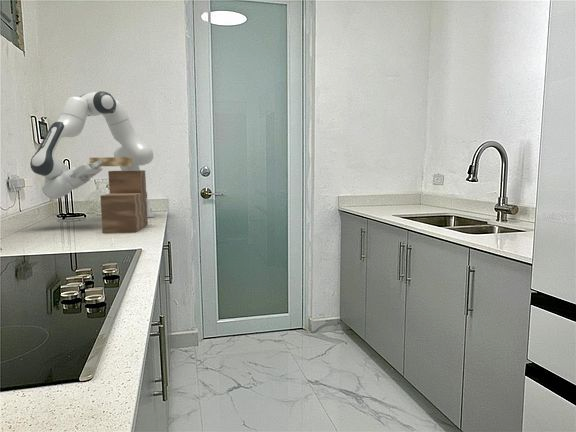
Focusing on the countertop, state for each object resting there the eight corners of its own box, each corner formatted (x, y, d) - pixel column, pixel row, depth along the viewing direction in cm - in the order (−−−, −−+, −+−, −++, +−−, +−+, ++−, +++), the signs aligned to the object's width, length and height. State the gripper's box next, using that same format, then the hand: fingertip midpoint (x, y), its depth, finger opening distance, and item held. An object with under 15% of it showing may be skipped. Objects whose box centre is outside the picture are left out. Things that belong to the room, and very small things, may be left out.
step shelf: (117, 225, 225) (114, 170, 222) (147, 225, 226) (145, 170, 223) (102, 233, 202) (99, 171, 199) (136, 232, 203) (133, 171, 200)
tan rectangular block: (89, 166, 214) (89, 157, 214) (91, 166, 217) (91, 157, 217) (130, 166, 216) (130, 157, 215) (132, 166, 219) (131, 157, 218)
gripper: (64, 170, 205) (92, 154, 205) (81, 170, 225) (106, 155, 226) (72, 183, 206) (100, 167, 206) (88, 181, 226) (113, 166, 226)
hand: (103, 160), depth 216 cm, fingers closed on tan rectangular block, 3 cm apart
